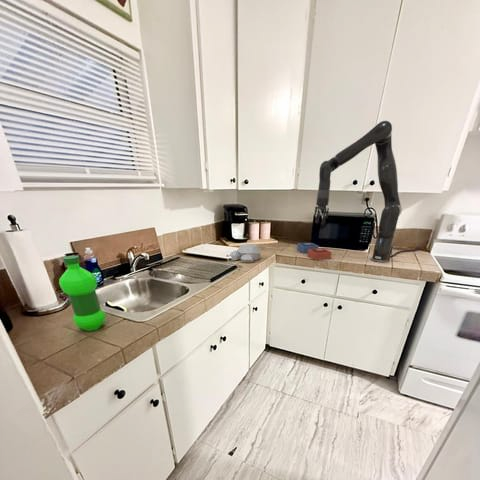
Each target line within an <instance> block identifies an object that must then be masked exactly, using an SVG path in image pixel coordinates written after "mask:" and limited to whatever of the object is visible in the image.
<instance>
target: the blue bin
mask: <svg viewBox="0 0 480 480" xmlns="http://www.w3.org/2000/svg"><path fill="white" fill-rule="evenodd" d="M305 243H306V242H300V243H297V245H296V250H297V251H299V252H300V253H302V254H308V249H318V248H319V245H317V244H315V243H313V242H309V243H310V244H312V246H307V247H304V244H305Z"/></svg>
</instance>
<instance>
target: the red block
mask: <svg viewBox="0 0 480 480" xmlns="http://www.w3.org/2000/svg"><path fill="white" fill-rule="evenodd" d="M315 252H316V253H320V252H324V250H323V249H315Z"/></svg>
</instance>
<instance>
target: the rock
mask: <svg viewBox="0 0 480 480" xmlns="http://www.w3.org/2000/svg"><path fill="white" fill-rule="evenodd" d="M261 253H262V251H261V249H260V247H259V245H258V244H251V243H248V244H247V243H245V244H240V245H239V247H238V248H237V250H233V251H231V252H230V253H229V255H228V257H230V256H231V257H232V258H230V260H231V261H238V260H240V261H241V263H254V261H258V260H260V259H261Z"/></svg>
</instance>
